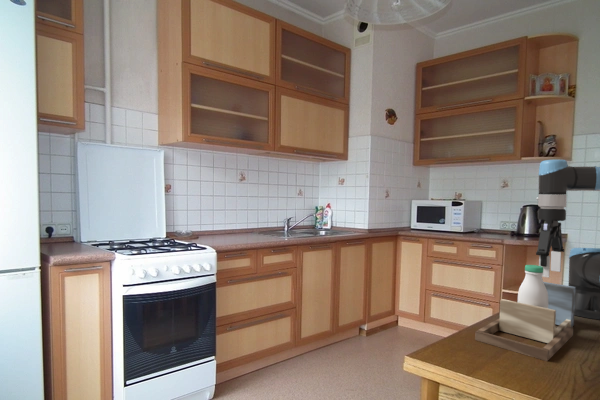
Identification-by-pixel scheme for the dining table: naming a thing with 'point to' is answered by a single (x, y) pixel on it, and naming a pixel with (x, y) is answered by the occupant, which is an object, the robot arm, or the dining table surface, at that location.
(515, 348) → the dark wooden tray
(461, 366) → the dining table surface
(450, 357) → the dining table surface
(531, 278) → the milk bottle
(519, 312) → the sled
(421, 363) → the dining table surface
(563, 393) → the dining table surface
